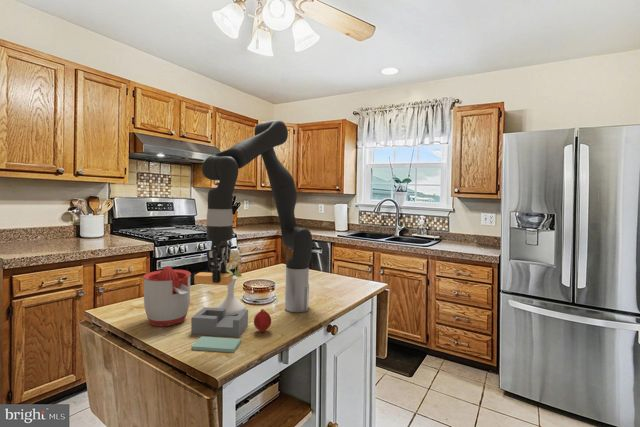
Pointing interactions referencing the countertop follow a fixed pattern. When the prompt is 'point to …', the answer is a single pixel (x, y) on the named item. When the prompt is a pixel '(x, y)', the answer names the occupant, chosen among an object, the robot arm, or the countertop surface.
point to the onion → (262, 320)
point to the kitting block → (218, 322)
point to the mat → (216, 344)
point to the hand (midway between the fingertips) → (219, 280)
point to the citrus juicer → (166, 296)
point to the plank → (207, 278)
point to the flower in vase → (232, 287)
